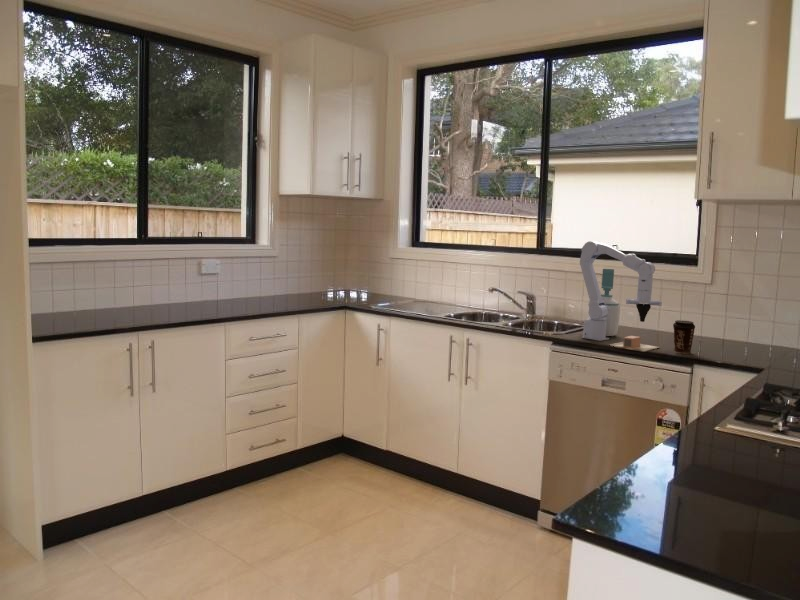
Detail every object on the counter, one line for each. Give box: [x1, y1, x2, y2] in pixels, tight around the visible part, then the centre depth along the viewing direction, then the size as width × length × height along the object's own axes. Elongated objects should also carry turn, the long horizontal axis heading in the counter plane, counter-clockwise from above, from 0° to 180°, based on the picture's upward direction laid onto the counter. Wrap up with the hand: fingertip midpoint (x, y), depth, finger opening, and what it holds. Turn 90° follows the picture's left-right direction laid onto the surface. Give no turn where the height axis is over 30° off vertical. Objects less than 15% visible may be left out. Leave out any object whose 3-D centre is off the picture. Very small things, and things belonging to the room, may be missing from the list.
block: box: [622, 335, 642, 348], centre depth 291 cm, size 4×4×8 cm
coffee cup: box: [672, 319, 696, 355], centre depth 283 cm, size 9×8×13 cm
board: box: [609, 341, 661, 353], centre depth 293 cm, size 16×14×1 cm
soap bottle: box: [601, 268, 620, 337], centre depth 320 cm, size 12×12×31 cm
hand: (642, 321), depth 297 cm, fingers closed
